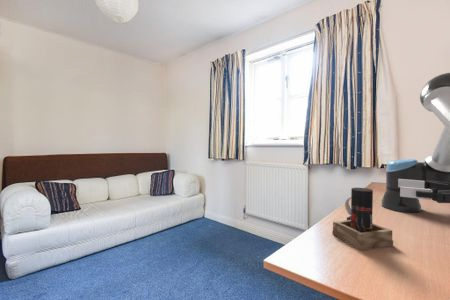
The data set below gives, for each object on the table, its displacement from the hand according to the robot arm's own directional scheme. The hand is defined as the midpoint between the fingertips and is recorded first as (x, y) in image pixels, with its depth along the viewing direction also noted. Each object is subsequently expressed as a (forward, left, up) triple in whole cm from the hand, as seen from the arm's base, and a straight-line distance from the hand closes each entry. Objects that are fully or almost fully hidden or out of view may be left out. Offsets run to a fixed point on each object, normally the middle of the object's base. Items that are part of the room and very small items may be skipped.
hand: (399, 186), depth 70 cm
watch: (-1, -17, -18) cm, 25 cm away
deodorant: (+8, -6, -17) cm, 19 cm away
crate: (+8, -6, -18) cm, 21 cm away
